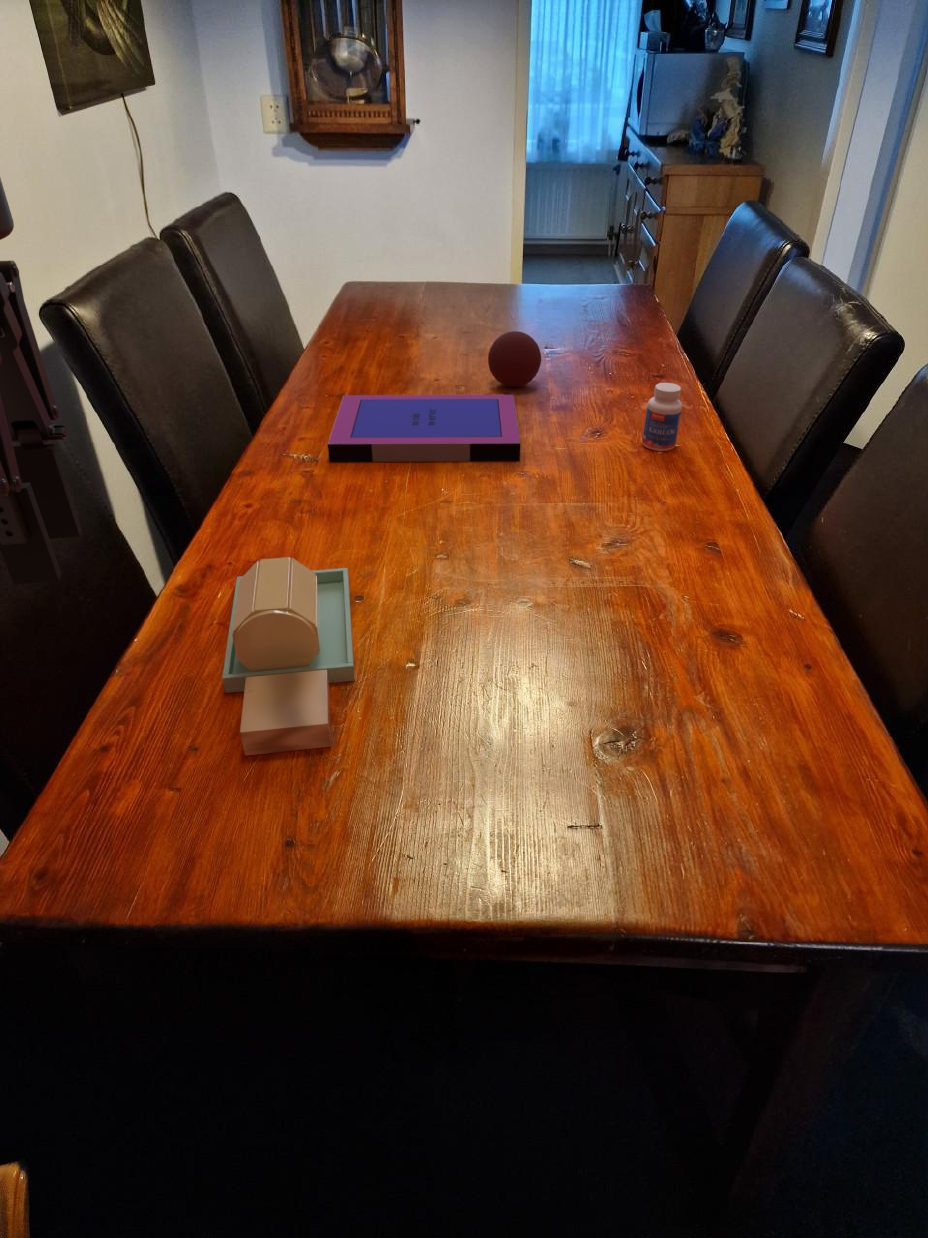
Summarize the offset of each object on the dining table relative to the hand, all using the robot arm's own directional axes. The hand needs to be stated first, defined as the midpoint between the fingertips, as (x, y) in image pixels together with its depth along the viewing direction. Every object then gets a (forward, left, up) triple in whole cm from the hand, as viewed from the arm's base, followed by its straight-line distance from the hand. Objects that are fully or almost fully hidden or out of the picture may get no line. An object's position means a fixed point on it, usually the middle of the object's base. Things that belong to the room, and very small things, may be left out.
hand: (49, 556), depth 54 cm
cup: (+11, +17, -22) cm, 30 cm away
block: (+12, +11, -27) cm, 31 cm away
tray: (+12, +26, -27) cm, 39 cm away
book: (+33, +79, -27) cm, 90 cm away
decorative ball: (+52, +100, -27) cm, 116 cm away
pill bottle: (+70, +69, -27) cm, 102 cm away
